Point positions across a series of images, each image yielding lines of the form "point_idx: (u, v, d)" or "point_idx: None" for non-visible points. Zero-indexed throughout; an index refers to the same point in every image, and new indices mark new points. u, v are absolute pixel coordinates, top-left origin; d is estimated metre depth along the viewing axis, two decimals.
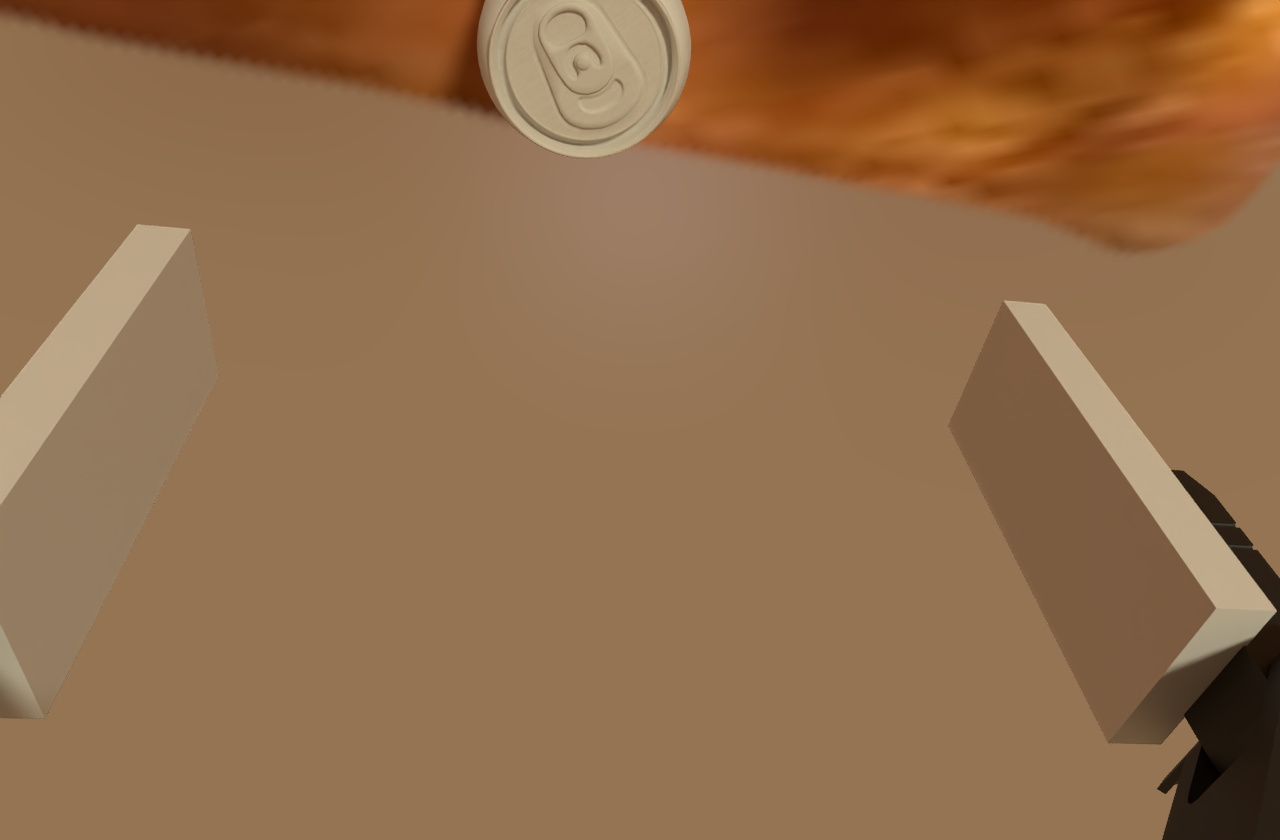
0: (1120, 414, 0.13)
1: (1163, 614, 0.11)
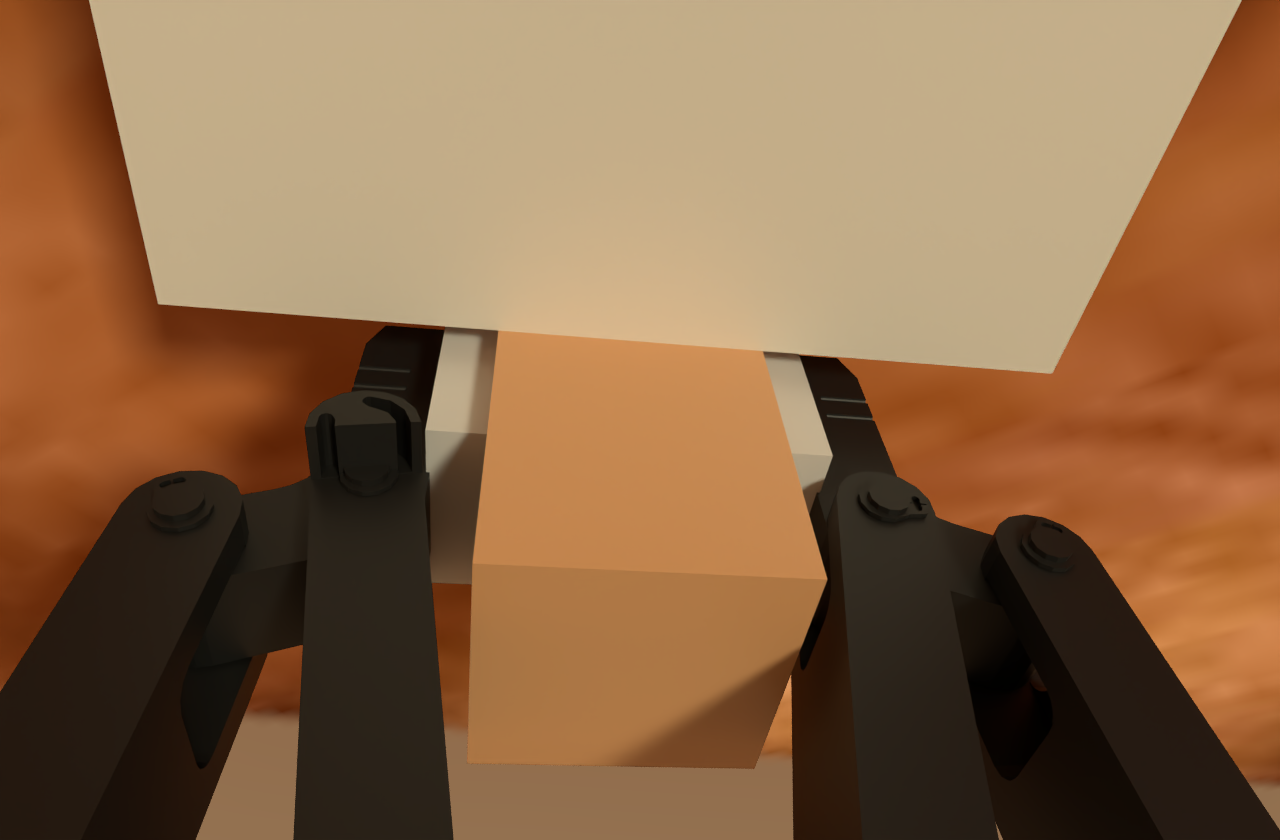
0: None
1: None
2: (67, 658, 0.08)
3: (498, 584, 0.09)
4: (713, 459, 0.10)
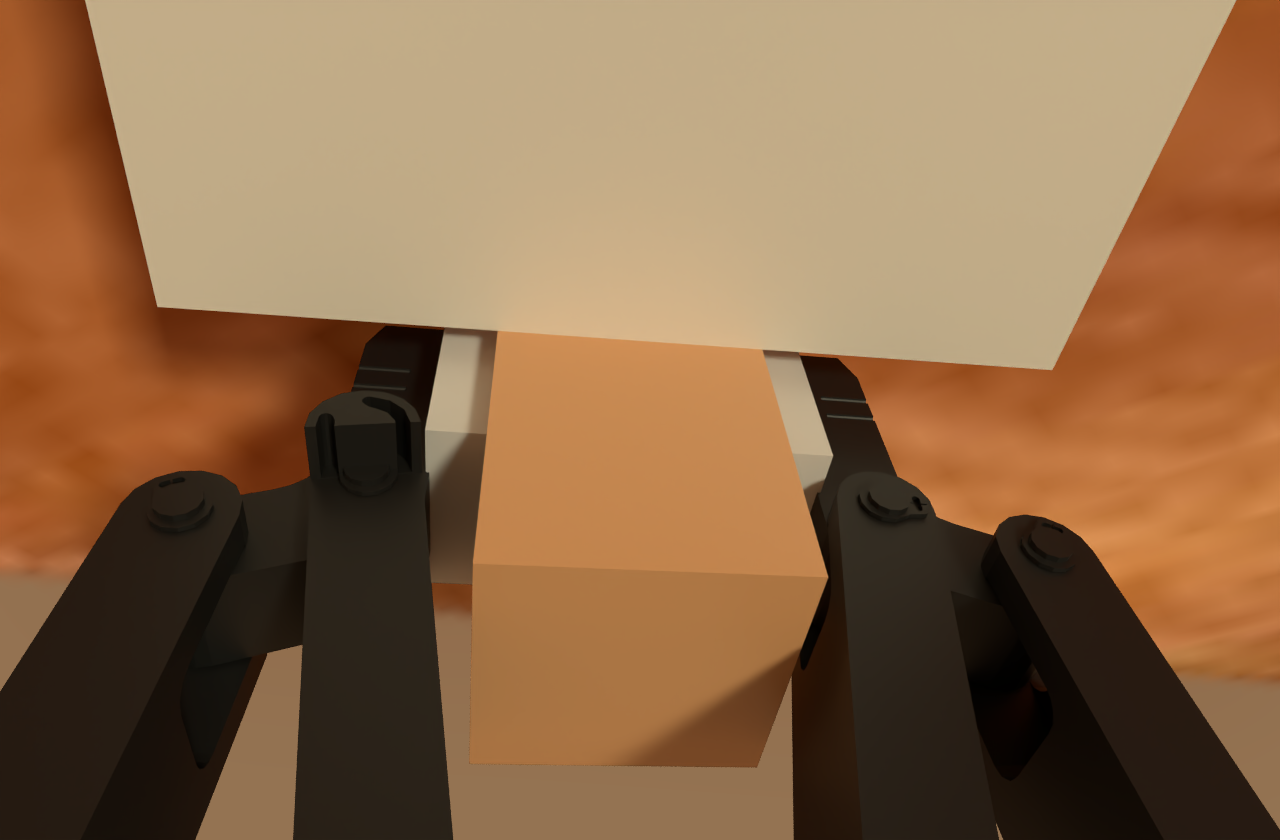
0: None
1: None
2: (67, 658, 0.08)
3: (498, 584, 0.09)
4: (712, 458, 0.10)
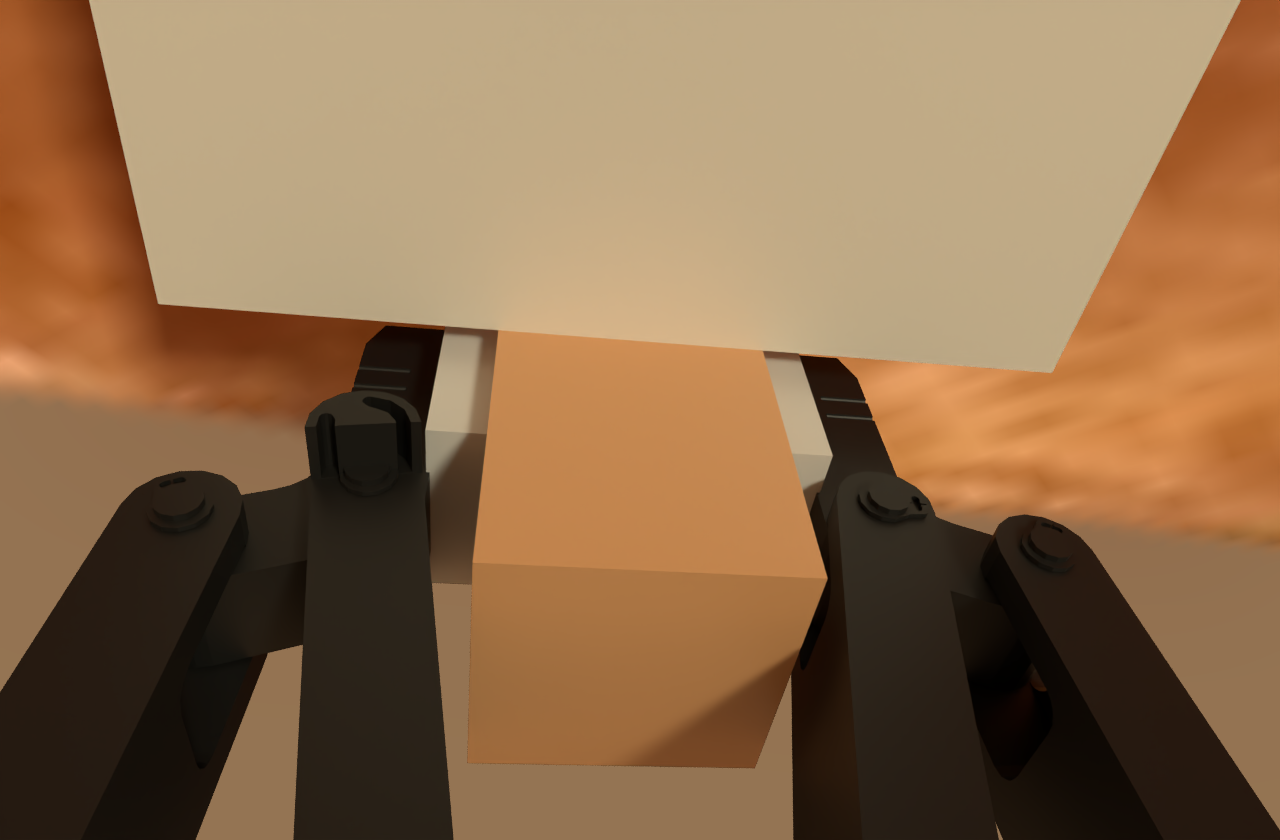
0: None
1: None
2: (67, 658, 0.08)
3: (497, 583, 0.09)
4: (712, 458, 0.10)
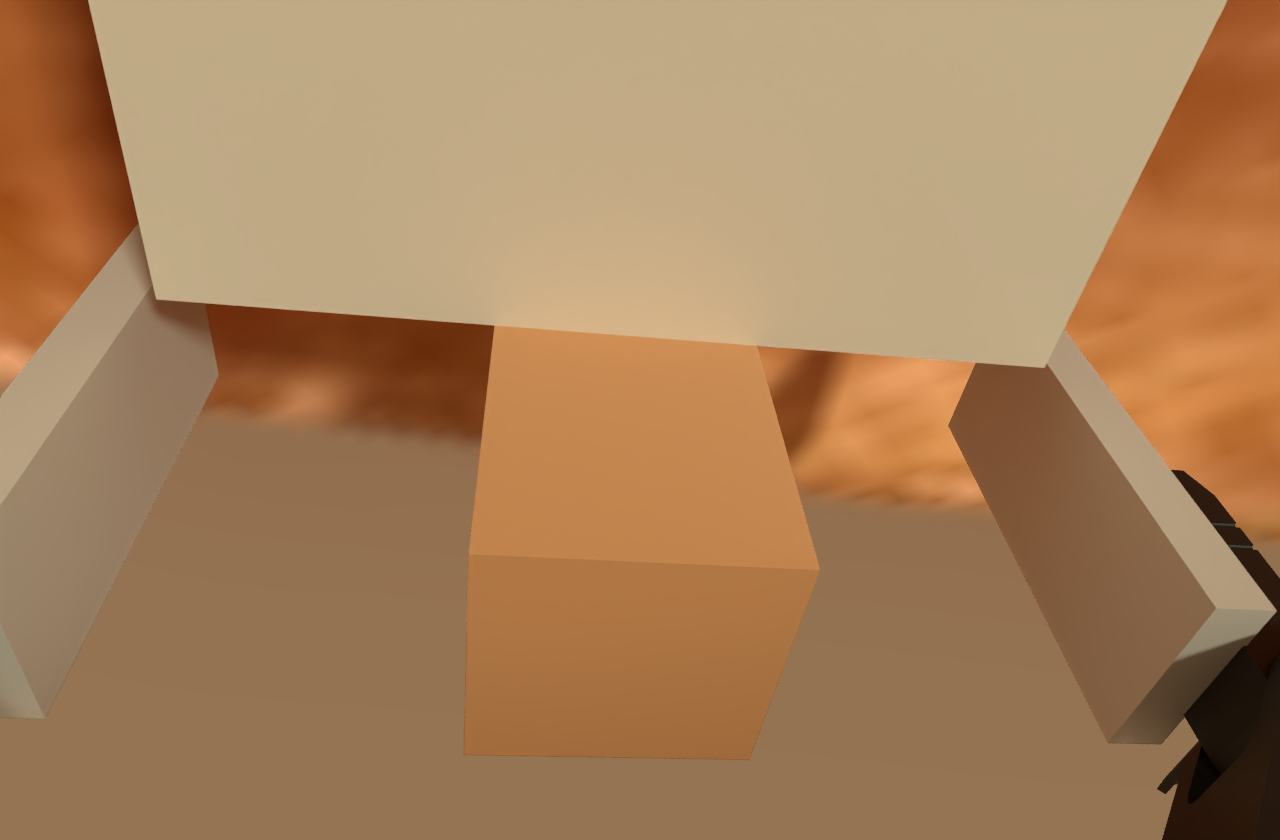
0: (1120, 414, 0.13)
1: (1163, 614, 0.11)
2: None
3: (493, 575, 0.09)
4: (706, 453, 0.10)
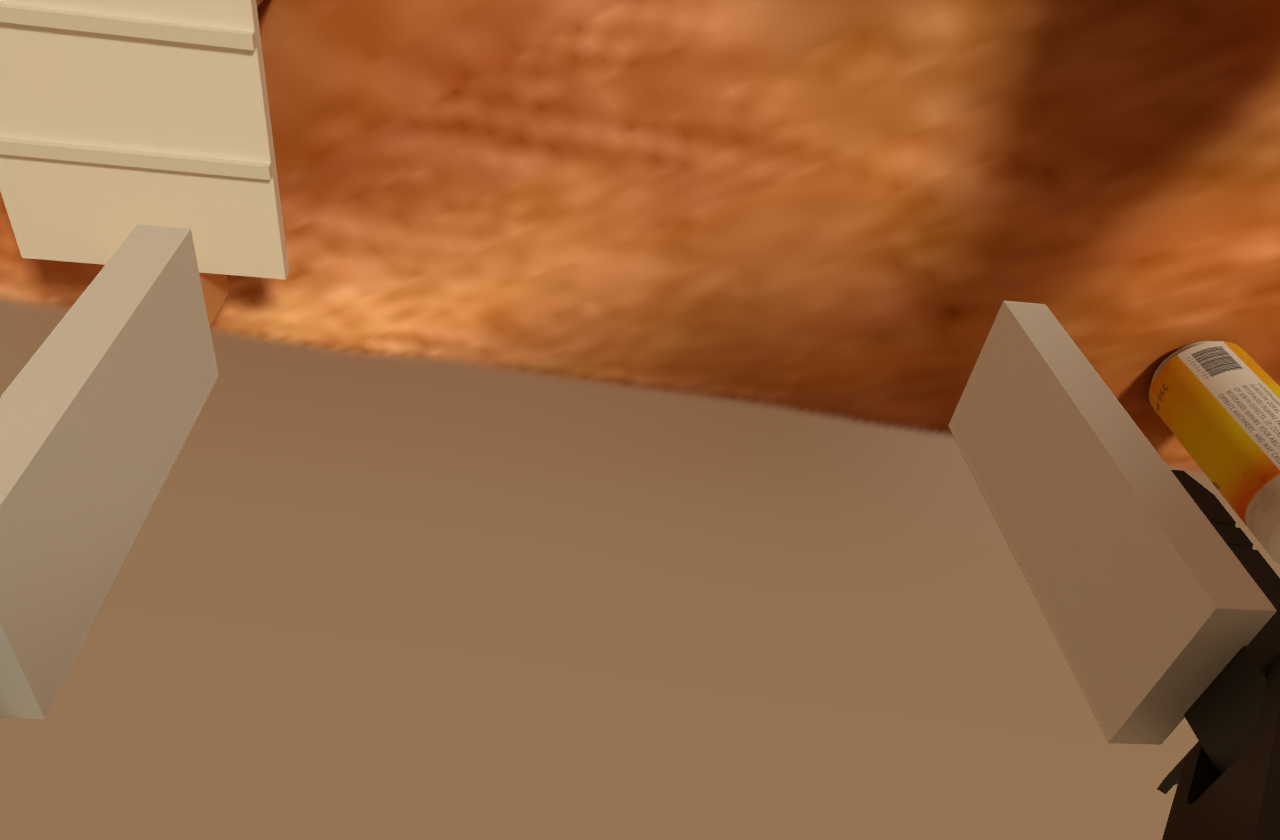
0: (1120, 414, 0.13)
1: (1163, 614, 0.11)
2: None
3: None
4: None
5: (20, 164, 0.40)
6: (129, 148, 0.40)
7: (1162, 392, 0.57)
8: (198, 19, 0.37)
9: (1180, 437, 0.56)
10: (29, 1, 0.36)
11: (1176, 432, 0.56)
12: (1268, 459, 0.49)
